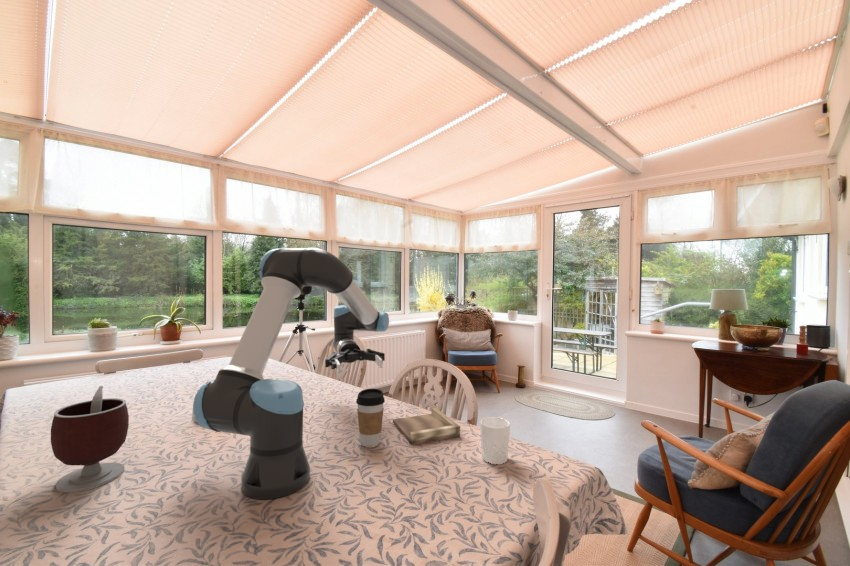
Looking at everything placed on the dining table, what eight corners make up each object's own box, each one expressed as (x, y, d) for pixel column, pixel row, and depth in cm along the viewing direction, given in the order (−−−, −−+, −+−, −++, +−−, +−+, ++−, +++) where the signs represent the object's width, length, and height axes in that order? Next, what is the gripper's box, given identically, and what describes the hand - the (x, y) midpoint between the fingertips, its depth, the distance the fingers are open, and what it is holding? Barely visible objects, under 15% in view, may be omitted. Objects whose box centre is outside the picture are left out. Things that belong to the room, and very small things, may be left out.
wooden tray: (412, 445, 108) (412, 434, 108) (392, 422, 125) (392, 413, 125) (460, 436, 115) (460, 426, 115) (435, 416, 131) (435, 407, 131)
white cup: (512, 466, 97) (512, 428, 97) (482, 465, 97) (482, 427, 97) (506, 452, 105) (506, 417, 105) (478, 451, 105) (478, 416, 105)
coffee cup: (386, 437, 113) (387, 388, 113) (380, 450, 105) (381, 397, 105) (360, 436, 114) (360, 387, 114) (352, 448, 106) (352, 396, 106)
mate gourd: (122, 484, 86) (122, 398, 86) (39, 501, 79) (39, 408, 79) (134, 456, 100) (134, 382, 100) (65, 468, 93) (65, 389, 93)
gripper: (381, 356, 143) (397, 372, 124) (314, 364, 134) (321, 382, 114) (380, 337, 143) (397, 350, 123) (313, 343, 133) (320, 359, 114)
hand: (360, 366), depth 119 cm, fingers open, 13 cm apart
